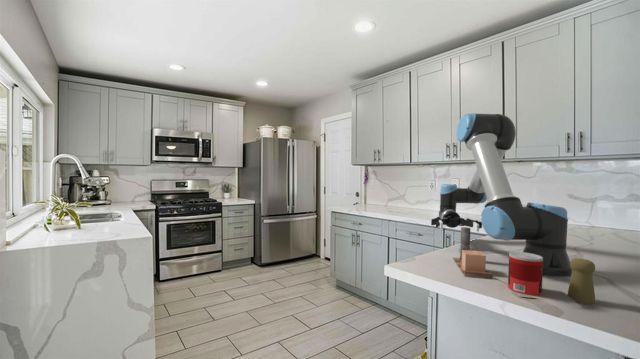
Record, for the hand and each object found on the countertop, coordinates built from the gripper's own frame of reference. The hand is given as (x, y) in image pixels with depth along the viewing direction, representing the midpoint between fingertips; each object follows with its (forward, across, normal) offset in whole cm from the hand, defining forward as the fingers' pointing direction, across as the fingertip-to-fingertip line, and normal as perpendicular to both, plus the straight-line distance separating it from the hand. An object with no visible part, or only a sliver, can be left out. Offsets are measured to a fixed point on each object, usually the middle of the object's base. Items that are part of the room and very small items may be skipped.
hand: (459, 227), depth 125 cm
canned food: (+38, -10, -11) cm, 41 cm away
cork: (+38, -24, -11) cm, 46 cm away
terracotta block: (+23, 0, -10) cm, 25 cm away
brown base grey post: (+19, 0, -11) cm, 23 cm away
